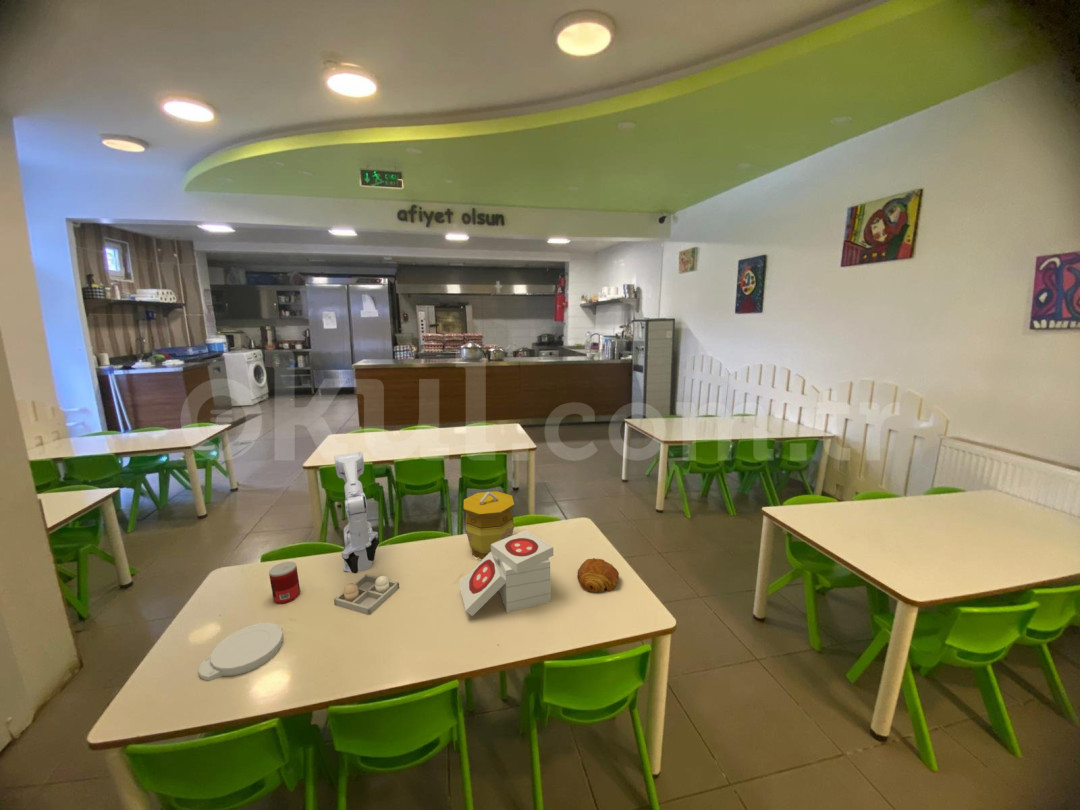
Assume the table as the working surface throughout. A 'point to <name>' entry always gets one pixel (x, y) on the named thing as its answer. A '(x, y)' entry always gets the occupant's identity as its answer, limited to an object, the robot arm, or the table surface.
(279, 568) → the canned food
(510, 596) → the stacked pizza boxes
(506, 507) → the container
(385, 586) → the cream egg
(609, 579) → the croissant
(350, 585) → the brown egg
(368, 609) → the egg carton
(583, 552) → the table surface
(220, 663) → the lid
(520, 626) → the table surface
